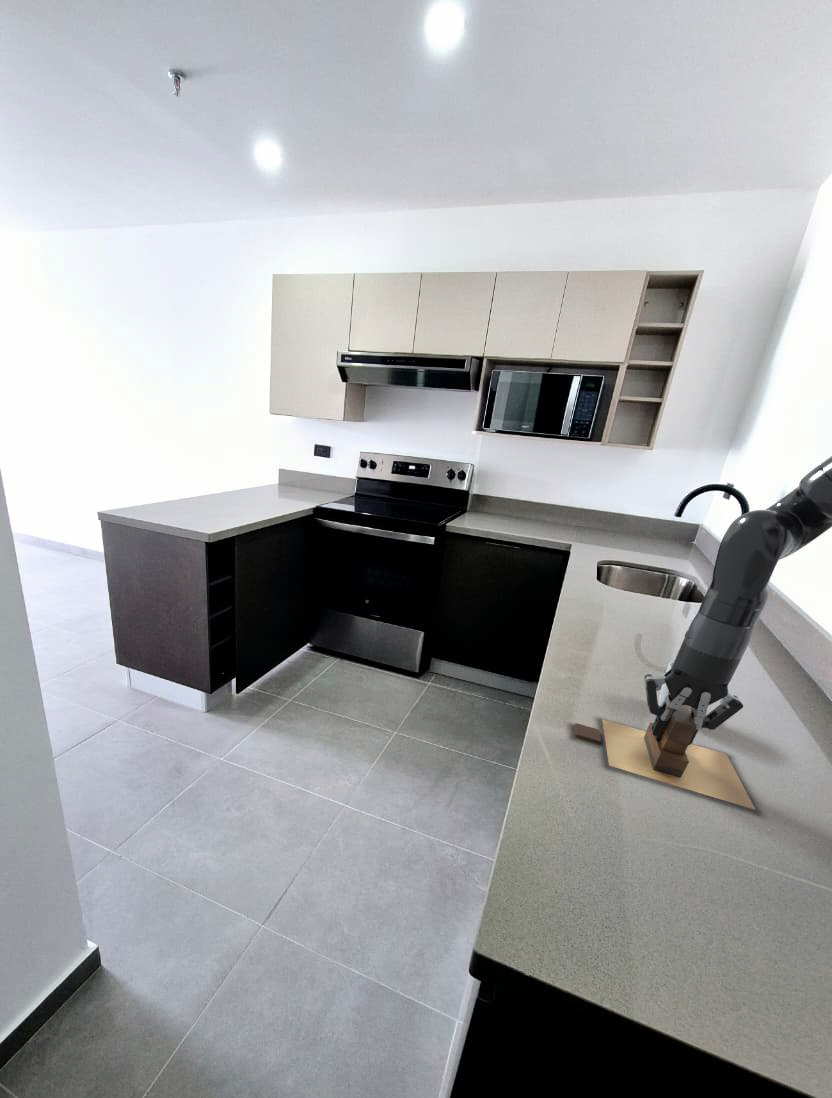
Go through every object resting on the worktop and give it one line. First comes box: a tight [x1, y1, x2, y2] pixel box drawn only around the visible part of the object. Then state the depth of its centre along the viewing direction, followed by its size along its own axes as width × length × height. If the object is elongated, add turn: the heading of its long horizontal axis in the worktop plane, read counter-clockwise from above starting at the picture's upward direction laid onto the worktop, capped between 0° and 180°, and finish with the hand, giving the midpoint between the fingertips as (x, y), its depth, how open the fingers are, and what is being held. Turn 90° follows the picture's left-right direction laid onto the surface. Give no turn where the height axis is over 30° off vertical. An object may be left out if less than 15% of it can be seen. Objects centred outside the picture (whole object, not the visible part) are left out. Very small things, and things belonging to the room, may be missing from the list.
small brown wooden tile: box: [574, 722, 602, 745], centre depth 86 cm, size 4×4×2 cm
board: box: [602, 719, 756, 811], centre depth 83 cm, size 20×15×1 cm
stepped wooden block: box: [644, 705, 697, 778], centre depth 81 cm, size 4×10×8 cm, turn 159°
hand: (669, 740), depth 81 cm, fingers closed on stepped wooden block, 3 cm apart
